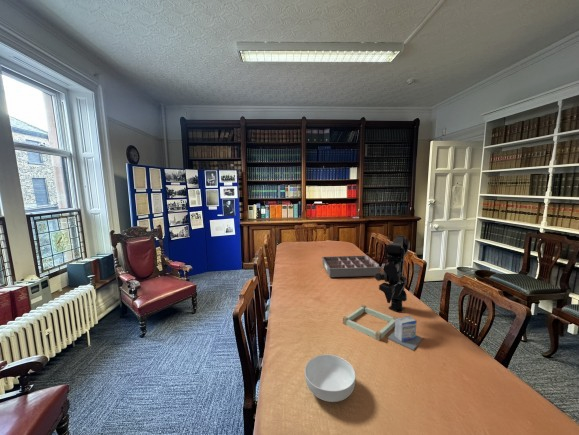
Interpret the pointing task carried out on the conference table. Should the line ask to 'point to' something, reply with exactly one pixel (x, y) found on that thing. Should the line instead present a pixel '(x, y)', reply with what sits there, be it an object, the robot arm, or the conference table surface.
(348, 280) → the conference table surface
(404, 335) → the medicine box
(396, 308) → the robot arm
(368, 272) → the organizer tray
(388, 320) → the pale green square frame
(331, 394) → the cereal bowl
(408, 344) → the slate mat
